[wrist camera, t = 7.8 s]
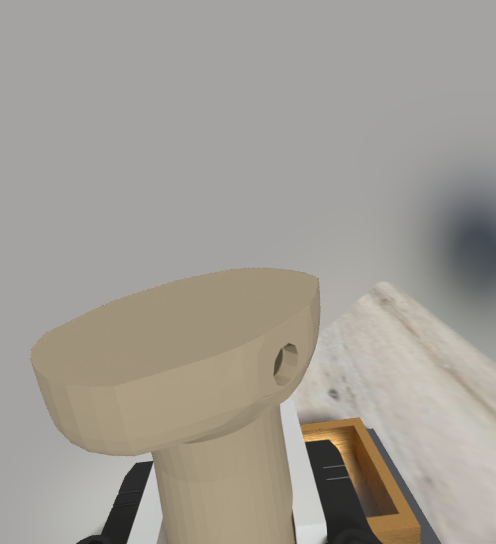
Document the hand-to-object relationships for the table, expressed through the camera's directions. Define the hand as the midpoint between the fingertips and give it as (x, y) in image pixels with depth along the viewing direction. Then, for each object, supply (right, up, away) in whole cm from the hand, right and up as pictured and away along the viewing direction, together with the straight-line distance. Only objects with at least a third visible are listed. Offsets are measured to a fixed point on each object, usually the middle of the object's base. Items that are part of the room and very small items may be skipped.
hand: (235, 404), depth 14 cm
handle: (+1, -9, -3) cm, 10 cm away
